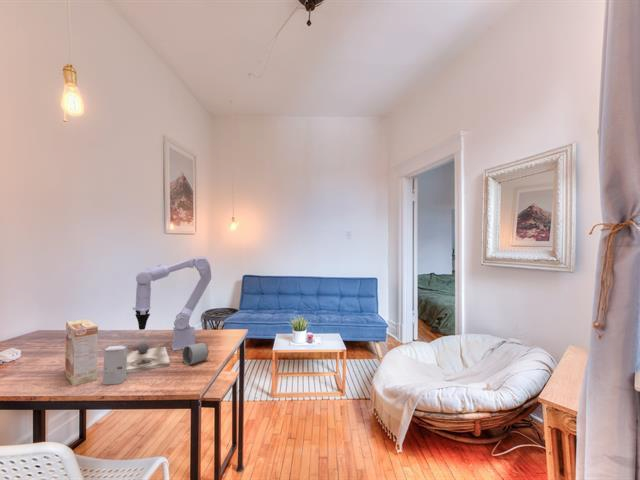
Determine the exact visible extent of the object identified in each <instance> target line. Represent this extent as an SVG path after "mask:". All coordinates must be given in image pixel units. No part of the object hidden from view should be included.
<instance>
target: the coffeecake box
mask: <svg viewBox="0 0 640 480" xmlns="http://www.w3.org/2000/svg"><path fill="white" fill-rule="evenodd" d="M65 322H66V323H65V328H66V329H65V358H64V360H65V363H64V365H65V366H64V375H65V376H66V378H67V379H68V381H69V382H70V384H71V386H73V387H74V386H78V385H82V384H83V385H84V384H86V383H90V382H94V381H97V377H98V376H97V374H98V373H97V372H98V371H97V370H98V341H99V340H98V334H99V333H98V331H99V328H98V327H99V326H98V325H97V324H96V323H94V322H93V321H92V320H90V319H89V318H84V319H77V320H76V319H75V320H69V321H65Z"/></svg>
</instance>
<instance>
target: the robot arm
mask: <svg viewBox="0 0 640 480" xmlns="http://www.w3.org/2000/svg"><path fill="white" fill-rule="evenodd" d="M194 267H195V269H196V270H197V272H198V274H199V276H200V279H199V280H198V282H197V284H196V286H195V288H194V289H193V291H192V293H191V294H190V296H189V298H188V300H187V301H186V303H185V304H184V306H183V308H182V309H181V311H180V312H179V313H178V314H176V316H175V319H174V322H173V326H174V327H173V331H172V334H173V335H172V336H173V338H172V339H173V343H172V344H171V349H172V351H179V350H183V349H184V347H185V346H187V345H193V344H196V328H195V326H190V324H189V323H190V320H191V319H190V318H191V317H192V315H193V313H194V310H195V308H196V306H197V305H198V303H199V302H200V299H201V298H202V296H203V294H204V292H205V291H206V289H207V288H208V285H209V283H210V281H211V280H212V271H211V264H210V262H209V260H208V259H207V257H204V256H199V257H197V258H196V257H192V258H188V259H185V260H182V261H180V262H176V263H173V264H171V265H165V264H162V265H161V264H158V265H157V266H155V267H152V268H147V269H146V270H143V271H141V272H139V273H138V274H137V275H136V277H135V280H136V292H135V294H136V295H135V307H132V311H133V310H134V311H135V315H134V316H135V318H136V320H137V323H138V324H137V325H138V330H139V331H143V330H145V329H146V327H147V323H148V319H149V317H150V316H151V313H150V309H151V291H152V290H151V289H152V287H151V283H152V282H155V281H158V280H161V279H163V278H166V277H167V278H168V276H169V275H170V274H171V273H173V272H176V271H179V270H183V269H186V268H189V269H194Z"/></svg>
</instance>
